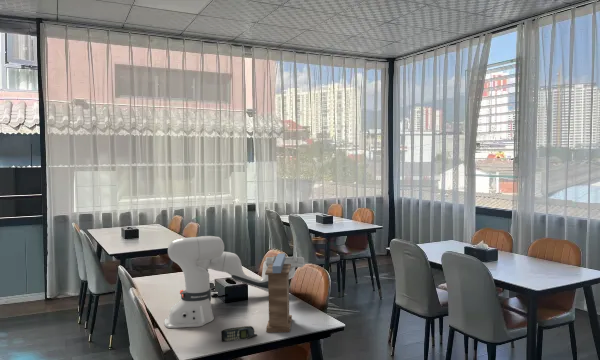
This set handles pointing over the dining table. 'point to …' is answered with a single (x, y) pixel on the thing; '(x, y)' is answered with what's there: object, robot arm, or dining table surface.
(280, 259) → the batten
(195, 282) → the robot arm
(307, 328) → the dining table surface
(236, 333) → the mobile phone
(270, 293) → the pedestal
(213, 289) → the graphics card
